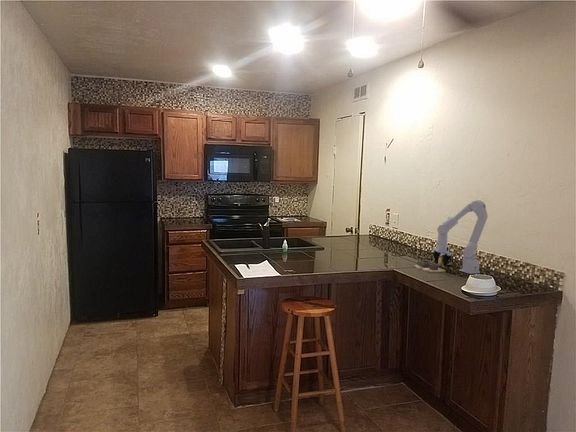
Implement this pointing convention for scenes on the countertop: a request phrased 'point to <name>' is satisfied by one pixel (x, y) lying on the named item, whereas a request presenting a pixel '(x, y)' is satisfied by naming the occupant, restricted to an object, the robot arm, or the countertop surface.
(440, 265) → the brass fitting
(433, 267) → the manifold board
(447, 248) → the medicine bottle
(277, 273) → the countertop surface
